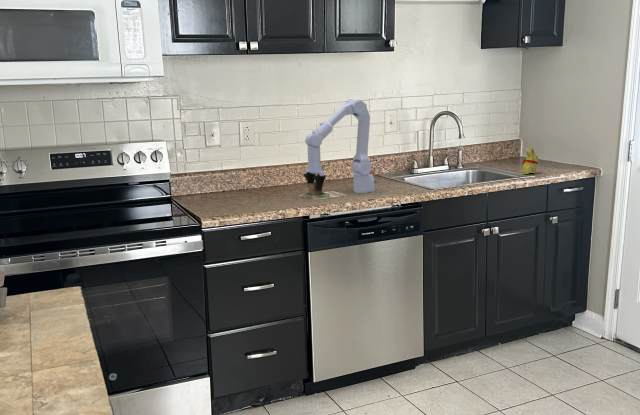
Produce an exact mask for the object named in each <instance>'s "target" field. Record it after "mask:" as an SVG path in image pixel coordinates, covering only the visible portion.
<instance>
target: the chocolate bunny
mask: <svg viewBox="0 0 640 415" xmlns="http://www.w3.org/2000/svg"><path fill="white" fill-rule="evenodd" d="M525 151H526V152H525V153H526V159H523V161H522V164H521V165H522V169H521V174H522V173H533V172H536V173H537V171H538V170H537V167H538V165H539V164H538V163H539V157H538V154H537V153H536V152H535V149H534V148H533V146H532V145H530V146H529V147H527V149H526V150H525Z"/></svg>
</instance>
